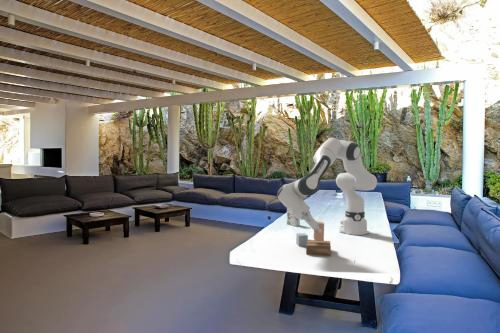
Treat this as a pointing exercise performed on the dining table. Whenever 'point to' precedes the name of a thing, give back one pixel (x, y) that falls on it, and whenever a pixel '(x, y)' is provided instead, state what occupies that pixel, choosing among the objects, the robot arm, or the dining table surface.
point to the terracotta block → (318, 235)
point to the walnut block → (318, 248)
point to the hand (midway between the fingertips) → (320, 230)
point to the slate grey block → (301, 239)
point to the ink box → (292, 219)
